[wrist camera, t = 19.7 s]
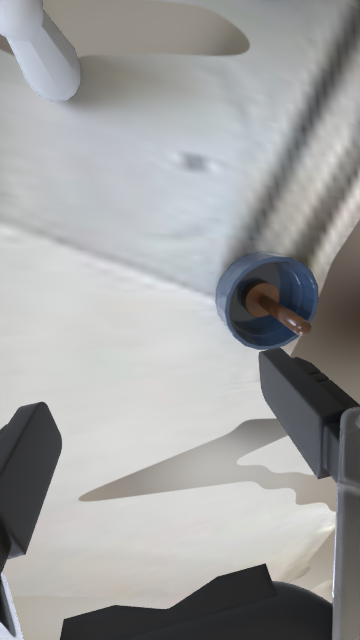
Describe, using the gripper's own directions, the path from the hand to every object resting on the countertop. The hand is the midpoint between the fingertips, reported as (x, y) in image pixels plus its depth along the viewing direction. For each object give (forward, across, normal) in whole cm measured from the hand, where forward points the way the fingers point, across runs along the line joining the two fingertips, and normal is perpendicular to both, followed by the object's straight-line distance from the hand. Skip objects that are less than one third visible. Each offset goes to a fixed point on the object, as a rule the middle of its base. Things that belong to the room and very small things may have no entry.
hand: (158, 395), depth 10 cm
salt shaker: (+30, +5, -22) cm, 38 cm away
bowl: (+30, -16, +8) cm, 35 cm away
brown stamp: (+30, -15, +8) cm, 34 cm away
